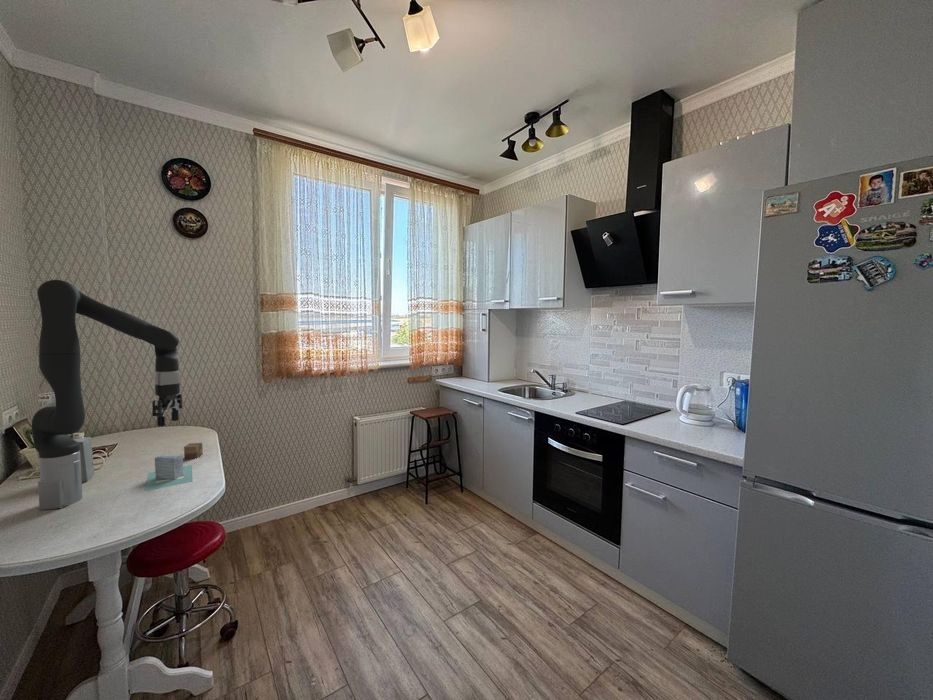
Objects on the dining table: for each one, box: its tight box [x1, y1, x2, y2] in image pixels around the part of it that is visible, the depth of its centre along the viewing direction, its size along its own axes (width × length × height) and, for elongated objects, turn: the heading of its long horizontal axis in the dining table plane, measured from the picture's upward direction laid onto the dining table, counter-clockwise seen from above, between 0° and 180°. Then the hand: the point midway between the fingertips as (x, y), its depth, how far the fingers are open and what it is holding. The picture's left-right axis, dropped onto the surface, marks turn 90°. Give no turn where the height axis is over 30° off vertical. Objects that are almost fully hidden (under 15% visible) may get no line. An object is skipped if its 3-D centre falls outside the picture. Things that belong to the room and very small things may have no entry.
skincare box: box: [72, 436, 95, 483], centre depth 141 cm, size 8×7×16 cm
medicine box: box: [154, 453, 184, 479], centre depth 144 cm, size 8×4×9 cm, turn 88°
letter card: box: [144, 464, 193, 492], centre depth 144 cm, size 20×14×1 cm
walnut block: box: [183, 442, 204, 460], centre depth 166 cm, size 5×5×6 cm
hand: (168, 423), depth 143 cm, fingers open, 8 cm apart
